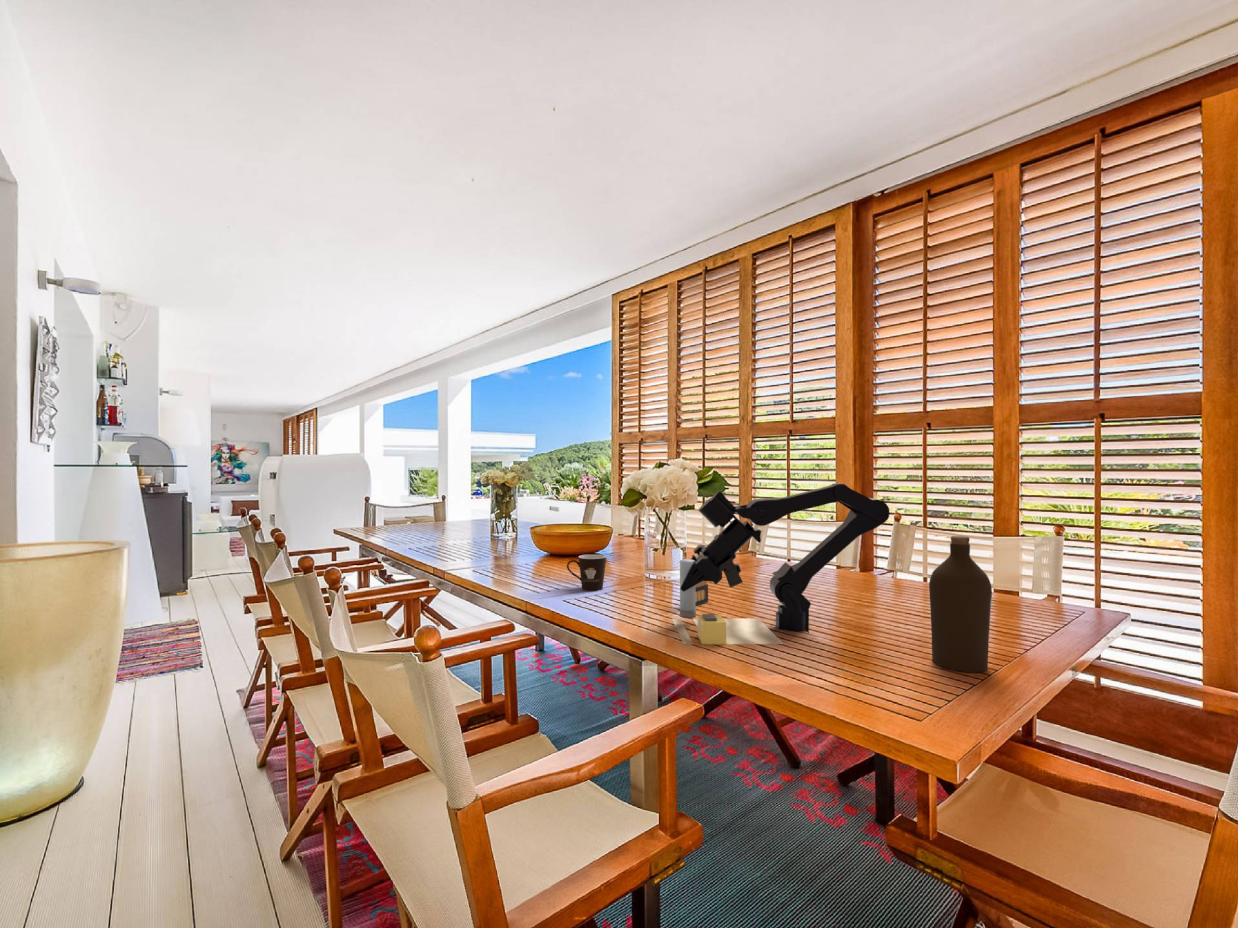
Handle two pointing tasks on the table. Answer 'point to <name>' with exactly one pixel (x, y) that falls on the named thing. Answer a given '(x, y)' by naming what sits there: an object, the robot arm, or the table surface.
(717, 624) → the block
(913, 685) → the table surface
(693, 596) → the light grey cylinder
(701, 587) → the ammunition clip
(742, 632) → the panel
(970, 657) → the olive oil
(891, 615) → the table surface
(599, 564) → the coffee mug
